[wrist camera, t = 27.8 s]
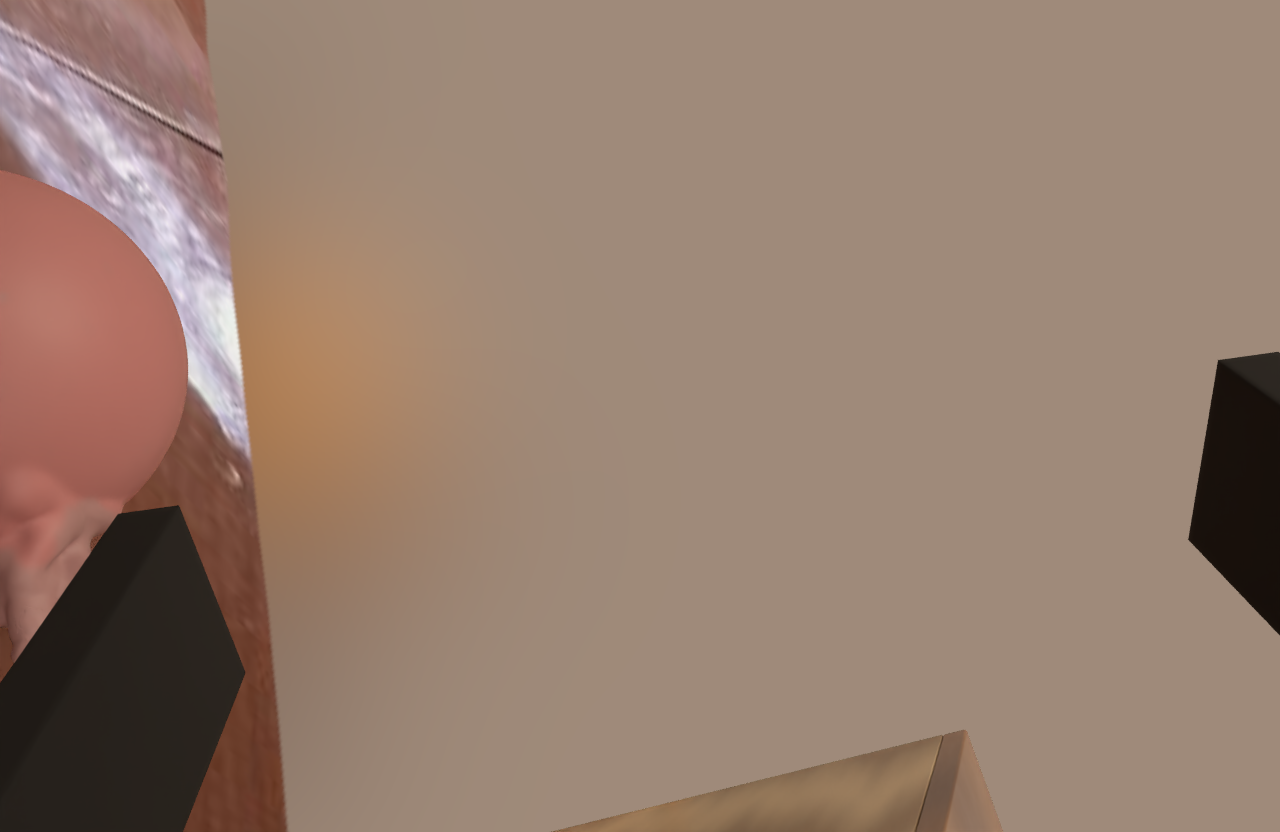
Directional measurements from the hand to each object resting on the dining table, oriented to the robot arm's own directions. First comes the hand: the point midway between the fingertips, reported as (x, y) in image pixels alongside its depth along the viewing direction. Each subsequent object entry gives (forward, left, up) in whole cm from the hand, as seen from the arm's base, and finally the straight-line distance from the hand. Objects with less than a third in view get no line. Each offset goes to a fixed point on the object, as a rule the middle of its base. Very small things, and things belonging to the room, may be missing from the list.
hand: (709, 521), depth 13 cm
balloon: (+12, +16, -39) cm, 44 cm away
